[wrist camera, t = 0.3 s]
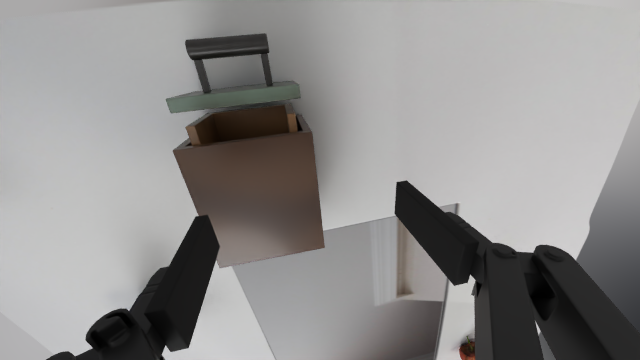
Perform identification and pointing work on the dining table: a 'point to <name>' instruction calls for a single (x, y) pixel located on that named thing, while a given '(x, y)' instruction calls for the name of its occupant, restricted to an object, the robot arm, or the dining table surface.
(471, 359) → the pomegranate
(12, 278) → the dining table surface
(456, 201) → the dining table surface
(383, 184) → the dining table surface
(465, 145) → the dining table surface
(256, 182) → the cabinet
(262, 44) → the drawer
